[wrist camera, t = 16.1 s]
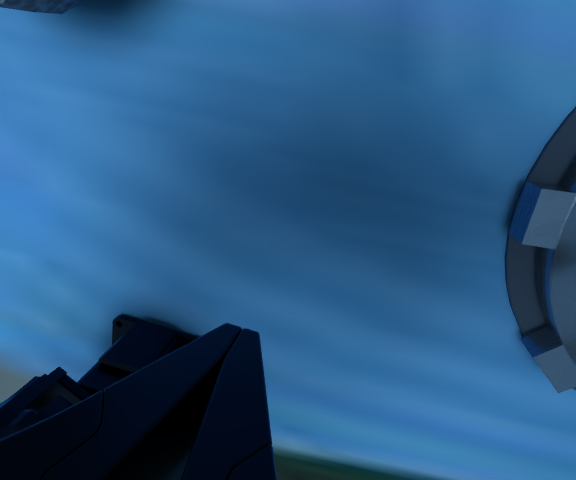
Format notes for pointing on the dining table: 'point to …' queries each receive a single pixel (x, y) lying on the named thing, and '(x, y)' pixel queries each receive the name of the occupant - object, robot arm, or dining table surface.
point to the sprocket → (552, 273)
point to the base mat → (522, 258)
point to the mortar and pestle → (40, 5)
